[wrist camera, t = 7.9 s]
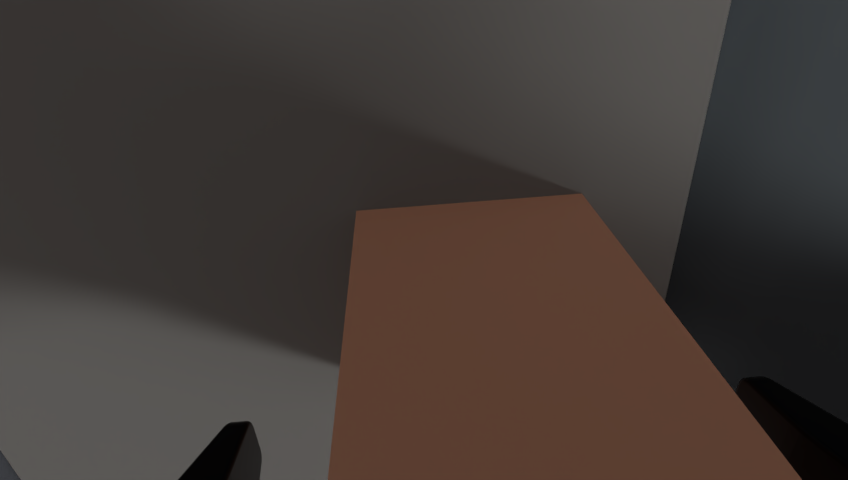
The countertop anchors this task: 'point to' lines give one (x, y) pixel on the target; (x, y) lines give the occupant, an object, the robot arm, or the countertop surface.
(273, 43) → the mat
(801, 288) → the countertop surface
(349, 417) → the block
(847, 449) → the robot arm
